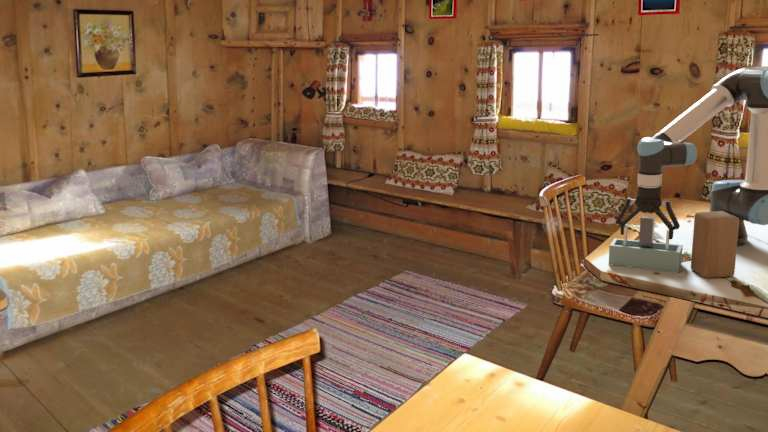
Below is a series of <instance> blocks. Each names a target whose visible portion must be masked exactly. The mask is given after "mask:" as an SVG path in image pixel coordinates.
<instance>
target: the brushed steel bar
mask: <svg viewBox="0 0 768 432" xmlns="http://www.w3.org/2000/svg"><path fill="white" fill-rule="evenodd" d="M655 217H656V216H655V215H645V214H643V215H641V217H640V220H639V224H640V225H639V235H638V236H639V239H638V241H639V247H640V248H650V249H653V242H654V235H655Z"/></svg>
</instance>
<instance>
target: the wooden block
mask: <svg viewBox="0 0 768 432" xmlns="http://www.w3.org/2000/svg"><path fill="white" fill-rule="evenodd" d="M693 220H694V221H693V231H692V232H693V233H692V234H693V235H692V244H691V245H692V247H691V259H690V269H691V271H694V272H695V273H697V274H698V275H699V276H702V277H704V278H705V279H714V278H727V277H733V276H734V275H735V271H736V269H735V268H736V259H737V250H738V248H737V247H738V245H737V240H738V230H739V218H738V217H735V216H733V215H731V214H728V213H726V212H723V211H712V212H710V211H700V212H699V211H698V212H695V213H694V217H693Z"/></svg>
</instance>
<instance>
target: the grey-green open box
mask: <svg viewBox="0 0 768 432" xmlns="http://www.w3.org/2000/svg"><path fill="white" fill-rule="evenodd" d="M623 240H624V238H613V240H612V241H611V242H610V244H609V249H608V250H609V252H608V253H609V254H608V265H609V264H613V265H612V266H617V265H620V266H619V267H625V266H631V267H630V268H634V267H637V268H638V269H643V268H644V269H645V270H651V269H653V271H661V270H662V271H661V272H668V273H669V272H670V273H679V272H680V269H681V266H682V260H683V258H682V257H683V248H684V247H683V244H676V243H669V248H668V249H665V248H666V242H664V243H663V242H655V241H653V249H650V248H640V247H639V240H633V239H627V243H626V245H623ZM621 265H622V266H621ZM637 268H636V269H637ZM644 269H643V270H644Z"/></svg>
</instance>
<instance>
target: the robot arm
mask: <svg viewBox="0 0 768 432" xmlns="http://www.w3.org/2000/svg"><path fill="white" fill-rule="evenodd" d="M710 90H711V91H709V92H708V93H706V94H705V95H704V96H703V97H702V98H700V99H699V100H698V101H696V102H695V103H694V104H692V105H691V106H690V107H689V108H688V109H686V110H684V111H683V113H681V114H680V115H678V116H677V117H676V118H674V119H673V120H672V121H671V122H670V123H668V124H667V125H666V126H665V127H664V128H662V129H661V130H660V131H658V132H657V133H656V134H654V135H653V136H645V137H643V138H641V139H640V140H639V141H638V143H637V147H636V151H637V153H638V169H637V170H638V171H637V183H636V184H637V188H636V198H632V197H631V196H630V197H627V199H626V203H625V206H624V207H623V208H622V211H621V213H620V214H619V215H618V217H617V219H616V220H615V224H616V225H620V235H622V236H623V239H624V240H623V245H626V243H627V240H628V228H629V227H628V223H629V222H630V221H631V220H632V219H633V218H634V217H635V216H636V215H637V214H639V213H640V212H641V213H642V214H646V213H648V214H654V213H655V214H656V216H657V217H658V218H659V219H660V220H661V221H662V223H663V224H664V226H666V227H667V229H666V235H665V243H666V248H665V249H668V248H669V244H670V240H673V237H674V230H679V229H680V227H681V225H680V223H679V221H678V219H677V217H676V213H674V210H673V208H672V204H671V203H672V202H671V200H670V199H668V200H662V198H661V197H662V187H661V186H662V183H663V182H662V181H663V169H664V168H669V167H679V166H681V167H682V166H683V167H684V166H688V165H692V164H694V163H695V162H696V160H697V158H698V150H697V147H696V146H695V144H694V143H692V142H684V140H685V139H686V138H687V137H689V136H690V135H691V134H693V133H694V132H695V131H697V130H698V129H699V128H701V127H702V126H703V125H705V123H706V122H708V121H709V120H711V119H712V118H713V117H715V116H716V115H717V114H718V113H720V112H721V111H722V110H724V109H725V108H730V107H732V106H734V105H735V104H736V103H739V102H741V101H746V109H747V110H748V111H750V120H749V131H748V133H749V134H748V144H747V145H748V146H747V154H746V165H745V177H744V179H723V180H717V181H713V183H712V186H711V191H710V205H709V212H712V211H723V212H726V213H728V214H731V215H733V216H735V217H738V218H739V230H738V240H737V246H743V245H745V244H747V243H748V233H747V229H746V226H745V225H746V224H745V221H746V222H749V223H751V224H753V225H754V224H755V225H760V226H767V225H768V66H755V65H749V66H748V65H747V66H744V67H740V68H738V69H736V70H734V71H732V72H731V73H729V74H727V75H725V76H724V77H723V78H721V79H720V80H718V82H716V83H715V84H713V85H712V86H711V89H710ZM682 141H683V142H682ZM633 204H635V206H636V208H635V209H634V210H633V211H631V213H630V214H629V215H628V216H627V217H626V218H625V219H624V220H623V218H624V216H625V214H626V213H627V211H628V210H629V208H630V207H631V206H633ZM661 206H663V207H664V208H666V212H667V213H668V216H669V218H670V220H671V221H670V220H669V219H668V218H667V216H666V214H664V212H663V211H662V210H661V208H660V207H661Z"/></svg>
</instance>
